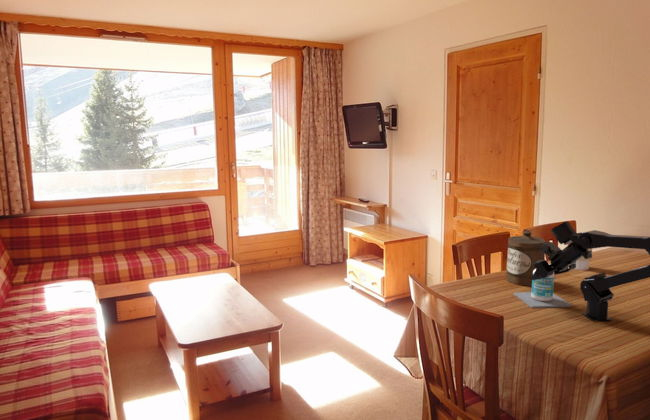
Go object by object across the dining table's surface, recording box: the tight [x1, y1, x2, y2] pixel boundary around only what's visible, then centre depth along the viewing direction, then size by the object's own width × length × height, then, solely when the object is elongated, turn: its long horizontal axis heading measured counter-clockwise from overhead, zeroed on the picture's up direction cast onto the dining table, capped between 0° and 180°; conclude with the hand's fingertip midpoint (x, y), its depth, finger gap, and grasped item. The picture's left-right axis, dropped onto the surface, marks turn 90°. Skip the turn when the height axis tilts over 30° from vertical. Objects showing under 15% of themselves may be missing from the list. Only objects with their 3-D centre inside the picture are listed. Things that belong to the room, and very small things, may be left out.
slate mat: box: [512, 291, 573, 309], centre depth 179 cm, size 15×15×1 cm
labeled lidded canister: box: [505, 229, 546, 287], centre depth 201 cm, size 15×15×22 cm
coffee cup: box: [574, 248, 593, 271], centre depth 220 cm, size 9×9×15 cm
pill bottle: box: [530, 263, 555, 301], centre depth 178 cm, size 8×7×14 cm
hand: (539, 277), depth 179 cm, fingers open, 9 cm apart
